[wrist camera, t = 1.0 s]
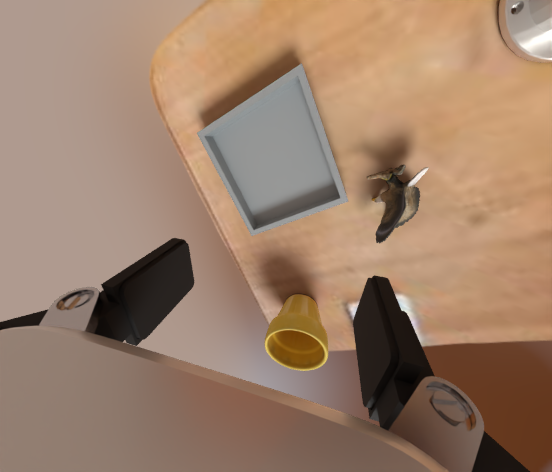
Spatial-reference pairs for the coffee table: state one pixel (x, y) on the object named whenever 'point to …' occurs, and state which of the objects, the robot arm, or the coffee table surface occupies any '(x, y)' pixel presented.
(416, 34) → the coffee table surface
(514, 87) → the coffee table surface
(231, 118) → the bin
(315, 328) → the plant pot
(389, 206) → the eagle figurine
